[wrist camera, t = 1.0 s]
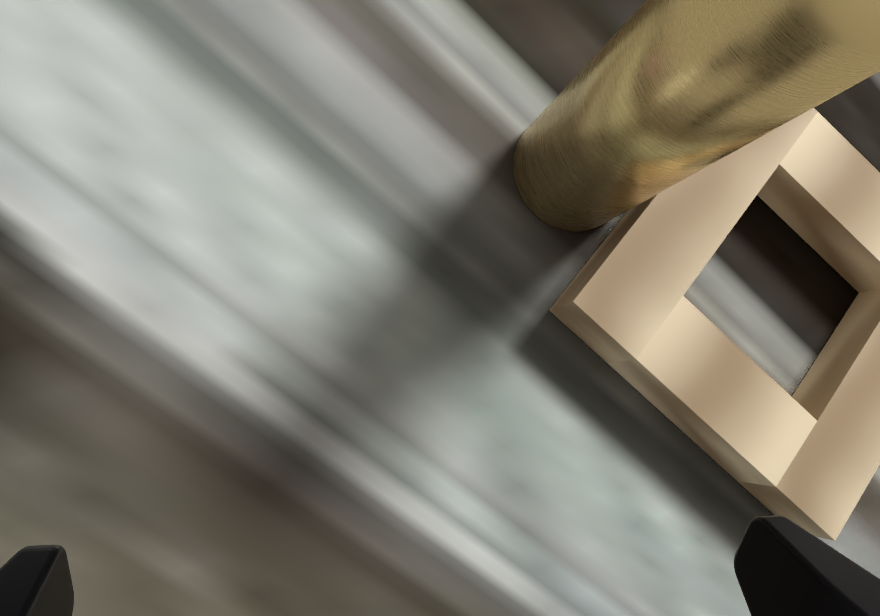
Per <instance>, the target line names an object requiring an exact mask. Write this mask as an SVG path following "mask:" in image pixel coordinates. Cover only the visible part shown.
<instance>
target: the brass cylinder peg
mask: <svg viewBox="0 0 880 616" xmlns="http://www.w3.org/2000/svg"><path fill="white" fill-rule="evenodd" d="M879 71H880V0H646V2H645V3H644V4H643V5H642V6H641V7H640V8H639V9H638V10H637V11H636V12H635V13H634V14H633V15H632V17H631V18H630V19H629V20H628V21H627V22H626V23H625V24H624V25H623V26H622V27H621V28H620V29H619V31H618V32H617V33H616V34H615V35H614V36H613V37H612V38H611V39H610V40H609V41H608V42H607V43H606V45H605V46H604V47H603V48H602V49H601V50H600V51H599V52H598V53H597V54H596V55H595V56H594V57H593V59H592V60H591V61H590V62H589V63H588V64H587V65H586V66H585V67H584V68H583V69H582V70H581V71H580V73H579V74H578V75H577V76H576V77H575V78H574V79H573V80H572V81H571V82H570V83H569V84H568V85H567V87H566V88H565V89H564V90H563V91H562V92H561V93H560V94H559V95H558V96H557V97H556V98H555V99H554V101H553V102H552V103H551V104H550V105H549V106H548V107H547V108H546V109H545V110H544V111H543V112H542V113H541V115H540V116H539V117H538V118H537V119H536V120H535V121H534V122H533V123H532V124H531V125H530V126H529V127H528V129H527V130H526V131H525V132H524V133H523V135H522V136H521V138H520V140H519V142H518V144H517V147H516V149H515V154H514V160H513V172H514V179H515V183H516V186H517V189H518V191H519V193H520V196H521V197H522V199H523V201H524V202H525V204H526V205H527V206H528V208H529V209H530V210H531V211H532V212H533V213H534V214H535V215H536V216H537V217H538V218H540V219H541V220H542V221H544V222H545V223H547V224H549V225H551V226H553V227H555V228H558V229H561V230H566V231H576V232H578V231H587V230H591V229H594V228H596V227H599V226H601V225H602V224H604V223H606V222H608V221H610V220H611V219H613V218H615V217H617V216H619V215H620V214H622V213H624V212H626V211H628V210H629V209H631V208H633V207H635V206H637V205H638V204H640V203H642V202H644V201H646V200H648V199H649V198H651V197H653V196H655V195H657V194H658V193H660V192H662V191H664V190H666V189H667V188H669V187H671V186H673V185H675V184H676V183H678V182H680V181H682V180H684V179H685V178H687V177H689V176H691V175H693V174H695V173H696V172H698V171H700V170H702V169H704V168H705V167H707V166H709V165H711V164H713V163H714V162H716V161H718V160H720V159H722V158H723V157H725V156H727V155H729V154H731V153H732V152H734V151H736V150H738V149H740V148H742V147H743V146H745V145H747V144H749V143H751V142H752V141H754V140H756V139H758V138H760V137H761V136H763V135H765V134H767V133H769V132H770V131H772V130H774V129H776V128H778V127H779V126H781V125H783V124H785V123H787V122H789V121H790V120H792V119H794V118H796V117H798V116H799V115H801V114H803V113H805V112H807V111H808V110H810V109H812V108H814V107H816V106H817V105H819V104H821V103H823V102H825V101H826V100H828V99H830V98H832V97H834V96H836V95H837V94H839V93H841V92H843V91H845V90H846V89H848V88H850V87H852V86H854V85H855V84H857V83H859V82H861V81H863V80H864V79H866V78H868V77H870V76H872V75H873V74H875V73H877V72H879Z"/></svg>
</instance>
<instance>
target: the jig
mask: <svg viewBox="0 0 880 616" xmlns="http://www.w3.org/2000/svg"><path fill="white" fill-rule="evenodd" d="M756 195H758V196H759V197H760V198H761V199H762V200H763V201H764V202H765V203H766V204H767V205H768V206H769V207H770V208H771V209H772V210H773V211H774V212H775V213H776V214H777V215H778V216H779V217H780V218H781V219H783V220H784V221H785V222H786V223H787V224H788V225H789V226H790V227H791V228H792V229H793V230H794V231H795V232H796V233H797V234H798V235H799V236H800V237H801V238H802V239H803V240H804V241H805V242H806V243H808V244H809V245H810V246H811V247H812V248H813V249H814V250H815V251H816V252H817V253H818V254H819V255H820V256H821V257H822V258H823V259H824V260H825V261H826V262H827V263H828V264H829V265H830V266H831V267H833V268H834V269H835V270H836V271H837V272H838V273H839V274H840V275H841V276H842V277H843V278H844V279H845V280H846V281H847V282H848V283H849V284H850V285H851V286H852V287H853V288H854V289H855V290H856V291H858V292H859V293H858V295H857V296H856V298H855V300H854V301H853V303H852V304H851V306H850V307H849V309H848V310H847V312H846V313H845V315H844V317H843V318H842V320H841V321H840V323H839V324H838V326H837V327H836V329H835V331H834V332H833V334H832V335H831V337H830V338H829V340H828V341H827V343H826V344H825V346H824V348H823V349H822V351H821V352H820V354H819V355H818V357H817V358H816V360H815V361H814V363H813V365H812V366H811V368H810V369H809V371H808V372H807V374H806V375H805V377H804V379H803V380H802V382H801V383H800V385H799V386H798V388H797V389H796V391H795V392H794V394H793V396H792V397H791V396H790V395H789V394H788V393H787V392H786V391H785V390H784V389H783V388H782V387H781V386H779V385H778V384H777V383H776V382H775V381H774V380H773V379H772V378H771V377H770V376H769V375H768V374H767V373H765V372H764V371H763V370H762V369H761V368H760V367H759V366H758V365H757V364H756V363H755V362H754V361H753V360H752V359H750V358H749V357H748V356H747V355H746V354H745V353H744V352H743V351H742V350H741V349H740V348H739V347H738V346H736V345H735V344H734V343H733V342H732V341H731V340H730V339H729V338H728V337H727V336H726V335H725V334H724V333H723V332H721V331H720V330H719V329H718V328H717V327H716V326H715V325H714V324H713V323H712V322H711V321H710V320H709V319H707V318H706V317H705V316H704V315H703V314H702V313H701V312H700V311H699V310H698V309H697V308H696V307H695V306H694V305H692V304H691V303H690V302H689V301H688V300H687V299H686V298H685V297H684V296H683V295H684V294H685V292H686V291H687V289H688V288H689V287H690V285H691V284H692V283H693V281H694V280H695V279H696V277H697V276H698V274H699V273H700V272H701V270H702V269H703V268H704V266H705V265H706V264H707V262H708V261H709V259H710V258H711V257H712V255H713V254H714V253H715V251H716V250H717V249H718V247H719V246H720V244H721V243H722V242H723V240H724V239H725V238H726V236H727V235H728V234H729V232H730V231H731V229H732V228H733V227H734V225H735V224H736V223H737V221H738V220H739V219H740V217H741V216H742V214H743V213H744V212H745V210H746V209H747V208H748V206H749V205H750V204H751V202H752V201H753V199H754V198H755V197H756ZM549 311H550V312H551V313H553V314H554V315H555V316H556V317H557V318H558V319H559V320H560V321H561V322H563V323H564V324H565V325H566V326H567V327H568V328H569V329H570V330H571V331H572V332H574V333H575V334H576V335H577V336H578V337H579V338H580V339H581V340H582V341H583V342H585V343H586V344H587V345H588V346H589V347H590V348H591V349H592V350H593V351H594V352H596V353H597V354H598V355H599V356H600V357H601V358H602V359H603V360H604V361H605V362H607V363H608V364H609V365H610V366H611V367H612V368H613V369H614V370H615V371H617V372H618V373H619V374H620V375H621V376H622V377H623V378H624V379H625V380H626V381H628V382H629V383H630V384H631V385H632V386H633V387H634V388H635V389H636V390H637V391H639V392H640V393H641V394H642V395H643V396H644V397H645V398H646V399H647V400H648V401H650V402H651V403H652V404H653V405H654V406H655V407H656V408H657V409H658V410H659V411H661V412H662V413H663V414H664V415H665V416H666V417H667V418H668V419H669V420H670V421H672V422H673V423H674V424H675V425H676V426H677V427H678V428H679V429H680V430H682V431H683V432H684V433H685V434H686V435H687V436H688V437H689V438H690V439H691V440H693V441H694V442H695V443H696V444H697V445H698V446H699V447H700V448H701V449H702V450H704V451H705V452H706V453H707V454H708V455H709V456H710V457H711V458H712V459H713V460H715V461H716V462H717V463H718V464H719V465H720V466H721V467H722V468H723V469H724V470H726V471H727V472H728V473H729V474H730V475H731V476H732V477H733V478H734V479H736V480H737V481H738V482H739V483H740V484H741V485H742V486H743V487H744V488H745V489H747V490H748V491H749V492H750V493H751V494H752V495H753V496H754V497H755V498H756V499H758V500H759V501H760V502H761V503H762V504H763V505H764V506H765V507H766V508H767V509H769V510H770V511H771V512H772V513H773V514H774V515H778V516H783V517H786V518H787V519H789V520H791V521H792V522H794V523H795V524H797V525H798V526H800V527H801V528H803V529H804V530H806V531H807V532H809V533H810V534H812V535H813V536H816V537H821V538H825V539H830V540H834V541H835V540H836V538H837V537H838V535H839V533H840V532H841V530H842V528H843V526H844V525H845V523H846V521H847V520H848V518H849V516H850V514H851V513H852V511H853V509H854V508H855V506H856V504H857V502H858V501H859V499H860V497H861V496H862V494H863V492H864V491H865V489H866V487H867V485H868V484H869V482H870V480H871V479H872V477H873V475H874V473H875V472H876V470H877V468H878V467H879V465H880V173H879V172H878V171H877V170H876V169H875V168H874V167H873V166H872V165H871V164H870V163H869V162H868V161H867V160H866V159H865V158H864V157H863V156H862V155H861V154H860V153H859V152H858V151H857V150H856V149H855V148H854V147H853V146H852V145H851V144H850V143H849V142H848V141H847V140H846V139H845V138H844V137H843V136H842V135H841V134H840V133H839V132H838V131H837V130H836V129H835V128H834V127H833V126H832V125H831V124H830V123H829V122H828V121H827V120H826V119H824V118H823V117H822V116H821V115H820V114H819V113H818V112H817V111H816V110H815V109H814V108H812V109H810V110H808V111H807V112H805V113H803V114H801V115H799V116H798V117H796V118H794V119H792V120H790V121H789V122H787V123H785V124H783V125H781V126H779V127H778V128H776V129H774V130H772V131H770V132H769V133H767V134H765V135H763V136H761V137H760V138H758V139H756V140H754V141H752V142H751V143H749V144H747V145H745V146H743V147H742V148H740V149H738V150H736V151H734V152H732V153H731V154H729V155H727V156H725V157H723V158H722V159H720V160H718V161H716V162H714V163H713V164H711V165H709V166H707V167H705V168H704V169H702V170H700V171H698V172H696V173H695V174H693V175H691V176H689V177H687V178H685V179H684V180H682V181H680V182H678V183H676V184H675V185H673V186H671V187H669V188H667V189H666V190H664V191H662V192H660V193H658V194H657V195H655V196H653V197H651V198H649V199H648V200H646V201H644V202H642V203H640V204H638V205H637V206H635V207H633V208H631V209H629V210H628V211H627V212H626V214H625V215H624V216H623V217H622V219H621V220H620V221H619V223H618V224H617V225H616V226H615V228H614V229H613V230H612V231H611V233H610V234H609V235H608V236H607V238H606V239H605V240H604V241H603V243H602V244H601V245H600V246H599V248H598V249H597V250H596V251H595V253H594V254H593V255H592V256H591V258H590V259H589V260H588V262H587V263H586V264H585V265H584V267H583V268H582V269H581V270H580V272H579V273H578V274H577V275H576V277H575V278H574V279H573V280H572V282H571V283H570V284H569V285H568V287H567V288H566V289H565V290H564V292H563V293H562V294H561V295H560V297H559V298H558V299H557V301H556V302H555V303H554V304H553V306H552V307H551V308H550V309H549Z"/></svg>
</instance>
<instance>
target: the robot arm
mask: <svg viewBox="0 0 880 616" xmlns="http://www.w3.org/2000/svg"><path fill="white" fill-rule="evenodd" d="M734 568H735V573H736V576H737V579H738V582H739V584H740V587H741V590H742V592H743V595H744V597H745V600H746V603H747V605H748V608H749V611H750V613H751V616H880V579H879V578H877V577H876V576H874V575H873V574H871V573H870V572H868V571H867V570H865V569H864V568H862V567H860V566H859V565H857V564H856V563H854V562H853V561H851V560H850V559H848V558H847V557H845V556H844V555H842V554H841V553H839V552H838V551H836V550H835V549H833V548H832V547H830V546H829V545H827V544H826V543H824V542H823V541H821V540H819V539H818V538H816V537H815V536H813V535H812V534H810V533H809V532H807V531H806V530H804V529H803V528H801V527H800V526H798V525H797V524H795V523H794V522H792V521H791V520H789V519H787V518H786V517H783V516H778V515H774V516H757V517H754V518H753V519H752V520H751V521H750V523H749V524H748V527H747V529H746V531H745V533H744V536H743V538H742V540H741V542H740V545H739V547H738V549H737V551H736V554H735V557H734ZM73 605H74V591H73V586H72V580H71V575H70V570H69V565H68V560H67V555H66V551H65V549H64V548H63V547H62V546H60V545H39V546H27V547H25V548H23V549H21V550H20V551H19V552H17V553H16V554H15V555H14V556H13V557H12V558H11V559H10V560H9V561H8V562H7V563H6V564H5V565H4V566H3V567H2V568H1V569H0V616H72V612H73Z"/></svg>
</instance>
